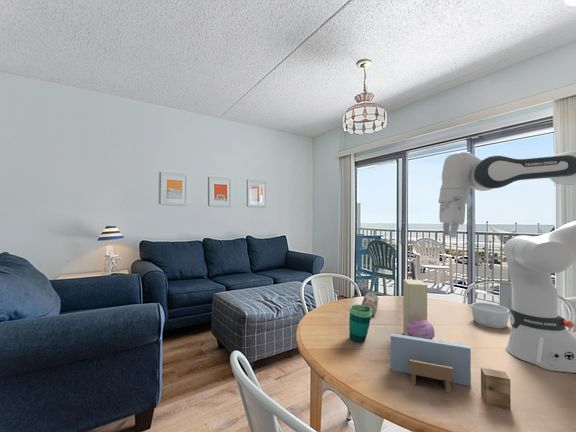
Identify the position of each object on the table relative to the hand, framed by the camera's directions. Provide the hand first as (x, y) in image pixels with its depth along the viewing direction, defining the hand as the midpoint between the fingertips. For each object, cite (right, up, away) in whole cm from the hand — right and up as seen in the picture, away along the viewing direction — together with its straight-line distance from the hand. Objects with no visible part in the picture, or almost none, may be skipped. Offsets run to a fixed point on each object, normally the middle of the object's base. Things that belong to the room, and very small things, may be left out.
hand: (448, 236), depth 97 cm
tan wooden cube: (-7, -38, -31) cm, 50 cm away
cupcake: (-12, -39, -4) cm, 41 cm away
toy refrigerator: (-10, -39, +5) cm, 40 cm away
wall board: (-19, -38, -23) cm, 48 cm away
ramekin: (+29, -39, +19) cm, 52 cm away
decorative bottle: (-19, -39, +34) cm, 55 cm away
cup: (-31, -39, +3) cm, 50 cm away
